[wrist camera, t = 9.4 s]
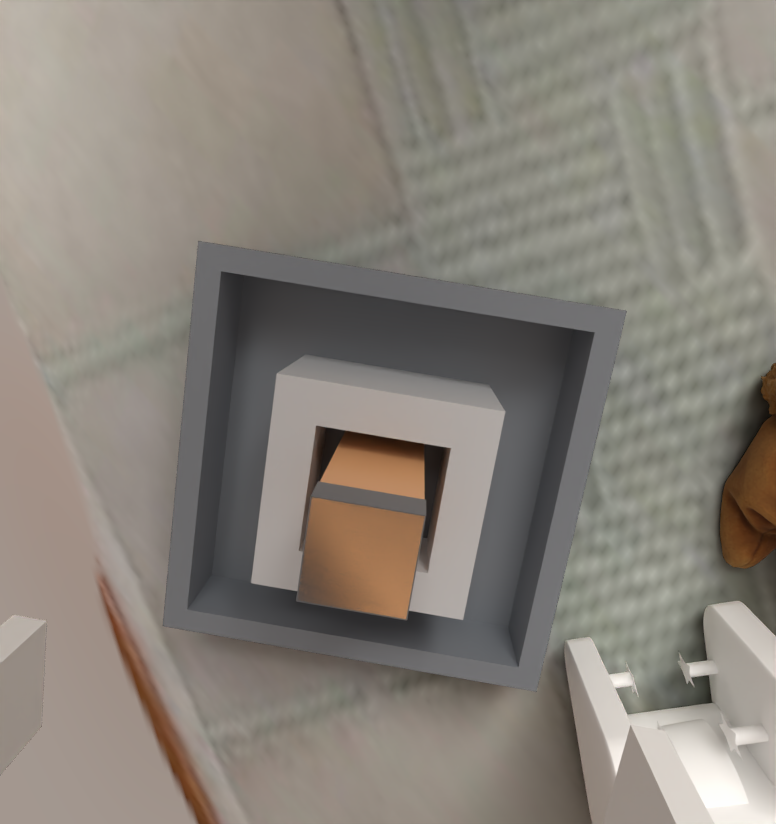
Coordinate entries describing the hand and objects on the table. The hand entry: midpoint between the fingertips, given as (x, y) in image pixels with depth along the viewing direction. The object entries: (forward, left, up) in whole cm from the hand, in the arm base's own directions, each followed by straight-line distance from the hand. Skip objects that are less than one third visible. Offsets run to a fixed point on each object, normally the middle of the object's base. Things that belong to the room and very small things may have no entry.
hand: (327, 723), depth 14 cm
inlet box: (0, 0, -23) cm, 23 cm away
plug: (0, 0, -19) cm, 19 cm away
